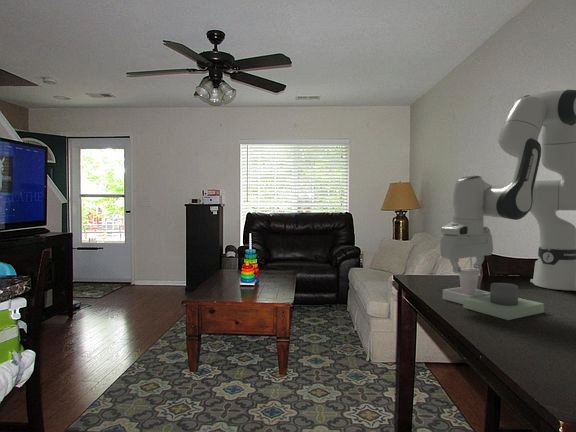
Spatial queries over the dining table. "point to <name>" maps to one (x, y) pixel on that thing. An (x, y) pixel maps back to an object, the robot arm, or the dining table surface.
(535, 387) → the dining table surface
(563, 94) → the robot arm
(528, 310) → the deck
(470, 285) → the smoothie
